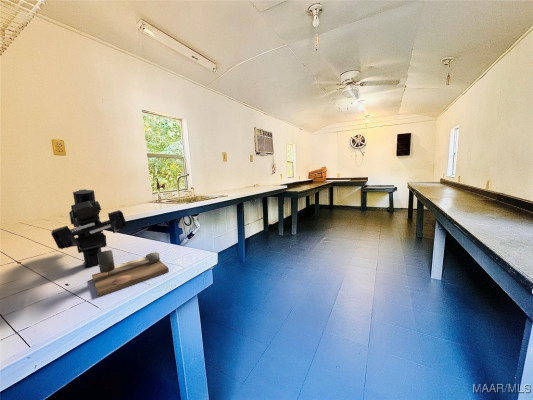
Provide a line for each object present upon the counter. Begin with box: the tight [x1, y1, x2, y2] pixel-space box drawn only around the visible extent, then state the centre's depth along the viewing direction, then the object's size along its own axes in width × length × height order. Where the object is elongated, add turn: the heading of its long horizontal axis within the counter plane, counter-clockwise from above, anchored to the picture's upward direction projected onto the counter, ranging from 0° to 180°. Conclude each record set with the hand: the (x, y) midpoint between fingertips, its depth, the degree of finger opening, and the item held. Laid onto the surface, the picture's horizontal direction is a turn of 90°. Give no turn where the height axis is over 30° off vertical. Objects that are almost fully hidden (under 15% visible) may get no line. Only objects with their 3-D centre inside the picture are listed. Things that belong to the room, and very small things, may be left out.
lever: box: [97, 249, 161, 274], centre depth 77 cm, size 18×4×8 cm, turn 134°
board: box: [91, 260, 170, 297], centre depth 75 cm, size 15×20×2 cm
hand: (96, 237), depth 66 cm, fingers open, 9 cm apart
